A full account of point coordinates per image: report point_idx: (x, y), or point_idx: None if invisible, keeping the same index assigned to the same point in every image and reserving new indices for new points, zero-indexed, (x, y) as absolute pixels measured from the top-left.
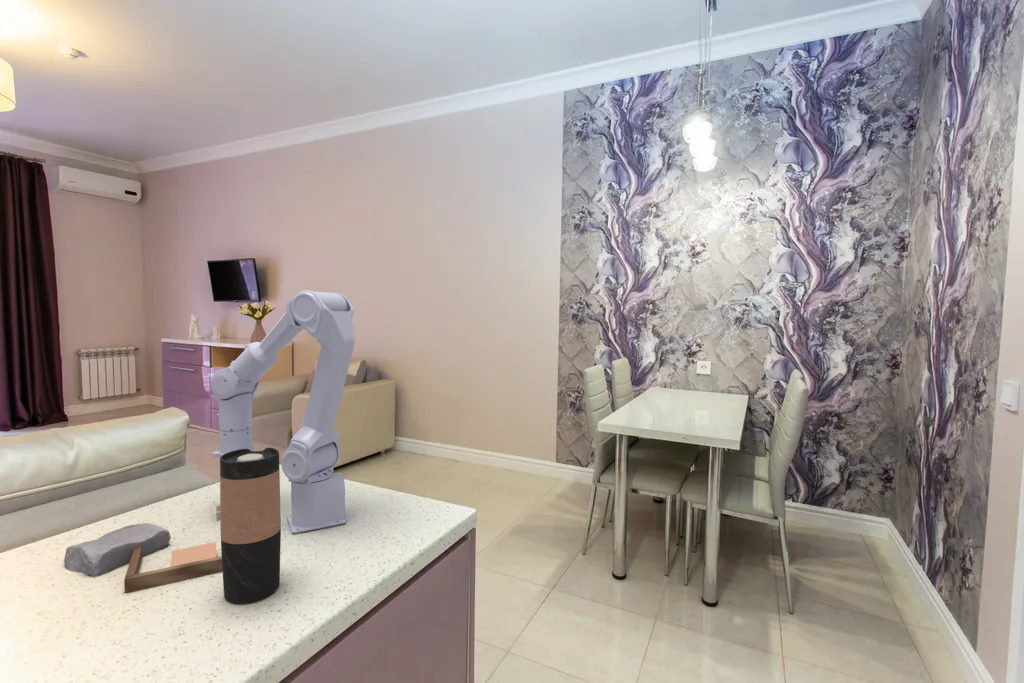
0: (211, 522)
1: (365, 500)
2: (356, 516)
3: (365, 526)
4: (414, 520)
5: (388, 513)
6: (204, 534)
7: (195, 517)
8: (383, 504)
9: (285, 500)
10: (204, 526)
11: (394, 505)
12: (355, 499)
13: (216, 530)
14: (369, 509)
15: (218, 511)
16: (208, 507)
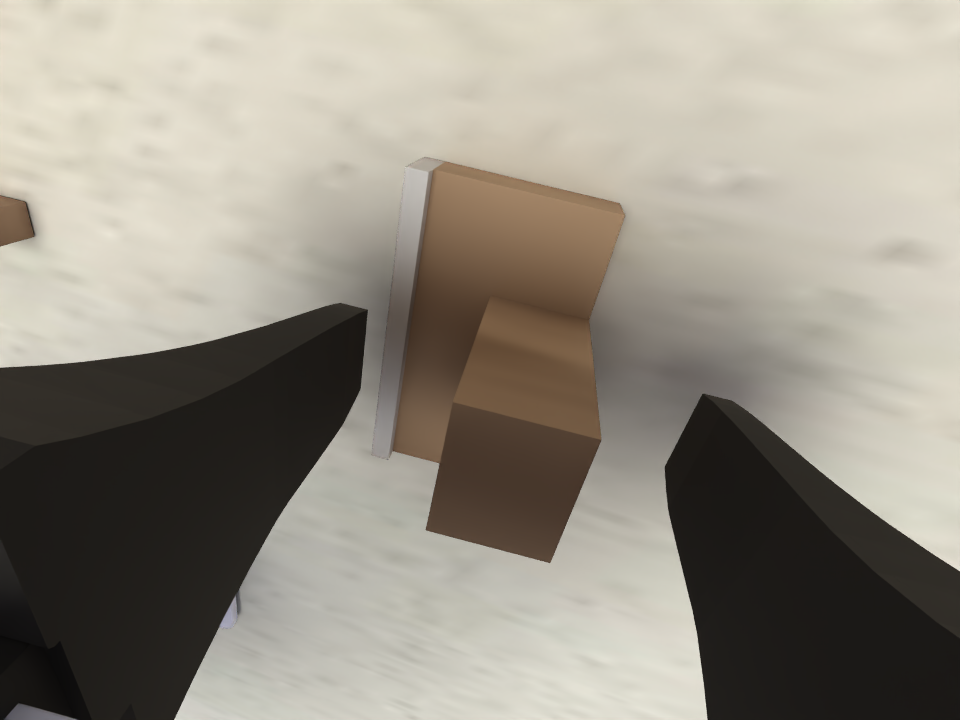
0: (420, 116)
1: (287, 699)
2: None
3: None
4: None
5: None
6: (199, 9)
7: (638, 18)
8: (216, 705)
9: (505, 555)
10: (366, 46)
11: (191, 713)
12: (318, 691)
13: (239, 110)
14: None
15: (424, 188)
16: (803, 179)
